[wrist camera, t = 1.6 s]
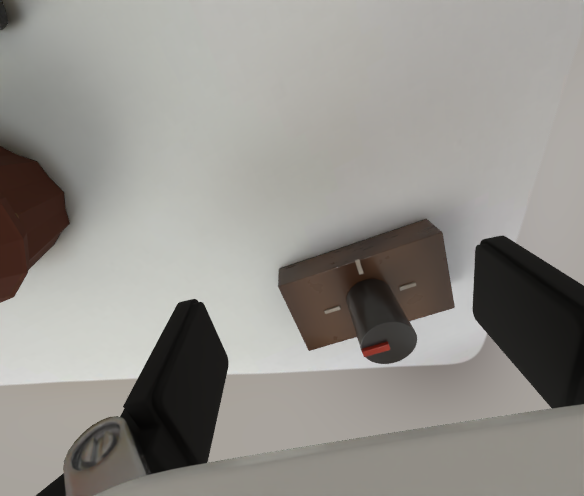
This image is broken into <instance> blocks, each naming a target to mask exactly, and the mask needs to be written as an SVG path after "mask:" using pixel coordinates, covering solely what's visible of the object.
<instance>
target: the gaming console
mask: <svg viewBox="0 0 584 496" xmlns="http://www.w3.org/2000/svg"><path fill="white" fill-rule="evenodd" d="M7 24H8V19H7V15H6V11H5V7H4V5H3V2H2V0H0V29H3V28H5V27H6V26H7Z"/></svg>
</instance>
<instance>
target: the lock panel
mask: <svg viewBox="0 0 584 496" xmlns="http://www.w3.org/2000/svg"><path fill="white" fill-rule="evenodd" d="M366 279H378V280H381V281H383V282H385V283H386V284H388V285H389V287H390V288H391V290H392V292H393V294H394V295H395V297H396V299H397V301H398V302H399V304H400V306H401V308H402V310H403V311H404V313H405V315H406V317H407V318H408V320H409V321H411V320H415V319H418V318H421V317H425V316H428V315H432V314H435V313H438V312H442V311H445V310H448V309H452V308H454V301H453V294H452V288H451V282H450V276H449V270H448V264H447V258H446V252H445V246H444V240H443V233H442V232H441V231H440V230H439V229H438V228H437V227H435V226H434V225H433V224H432V223H431V222H429V221H428V220H427V219H425V220H422V221H419V222H416V223H413V224H410V225H407V226H404V227H401V228H398V229H395V230H393V231H390V232H387V233H384V234H381V235H378V236H375V237H372V238H369V239H366V240H363V241H360V242H357V243H354V244H351V245H349V246H346V247H343V248H340V249H337V250H334V251H331V252H328V253H325V254H322V255H319V256H316V257H313V258H310V259H307V260H305V261H302V262H299V263H296V264H293V265H290V266H287V267H284V268H281V269H279V283H278V287H279V289H280V291H281V294H282V296H283V298H284V300H285V302H286V304H287V306H288V308H289V310H290V312H291V314H292V317H293V319H294V321H295V323H296V325H297V327H298V329H299V331H300V333H301V335H302V337H303V340H304V342H305V344H306V346H307V348H308V350H309V351H310V350H314V349H317V348H320V347H324V346H327V345H330V344H334V343H337V342H341V341H344V340H347V339H351V338H354V337H357V335H356V331H355V328H354V325H353V322H352V318H351V315H350V312H349V309H348V306H347V295H348V292H349V291H350V289H351V288H352V287H353V286H354V285H355V284H357V283H358V282H360V281H363V280H366Z"/></svg>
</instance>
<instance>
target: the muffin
mask: <svg viewBox="0 0 584 496" xmlns="http://www.w3.org/2000/svg"><path fill="white" fill-rule="evenodd" d="M68 225H69V219H68V216H67V212H66V209H65V198H64V192H63V191H62V190H61V189H60V188H59V187H58V186H57V185H56V184H55V183H54V182H53V181H52V180H51V179H50V178H49V177H48V175H47V174H46V173H45V171H44V170H43V169H42V167H41V166H40V165H39V163H38V162H37V161H34V160H31V159H28V158H25V157H22V156H19V155H17V154H15V153H13V152H11V151H9V150H7V149H5V148H3V147H1V146H0V303H1V302H3V301H5V300H8V299H10V298H13V297H14V296H15V294H16V292H17V291H18V289H19V287H20V285H21V284H22V282H23V280H24V278H25V277H26V275H27V273H28V270H29V269H30V268H31V267H32V266H33V265H34V264H35V263H36V262H37V261H38V260H39V259H40V258H41V257H42V256H43V255H44V254H45V253H46V252H47V251H48V250H49V249H50V248H51V247H52V246H53V245H54V244H55V242H56V240H57V239H58V237H59V235H60V233H61V232H62V231H63V230H64V229H65V228H66V227H67V226H68Z"/></svg>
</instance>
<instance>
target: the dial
mask: <svg viewBox="0 0 584 496" xmlns="http://www.w3.org/2000/svg"><path fill="white" fill-rule="evenodd" d="M347 306H348V309H349V312H350V315H351V318H352V322H353V325H354V328H355V331H356V335H357V338H358V341H359V344H360V348H361V351H362V353H363V355H364V357H366V358H367V359H369V360H370V361H372V362H375V363H380V364H389V363H394V362H397V361H400V360H402V359H404V358H405V357H407V356H408V355H409V354H410V353H411V352H412V351H413V350H414V348H415V346H416V343H417V335H416V333H415V331H414V329H413V327H412V325H411V324H410V322H409V320H408V318H407V317H406V315H405V313H404V311H403V310H402V308H401V306H400V304H399V302H398V301H397V299H396V297H395V295H394V294H393V292H392V290H391V288H390V287H389V285H388V284H386V283H385V282H383V281H381V280H378V279H366V280H363V281H360V282H358V283H357V284H355V285H354V286H353V287H352V288H351V289H350V291H349V292H348V295H347Z"/></svg>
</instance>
